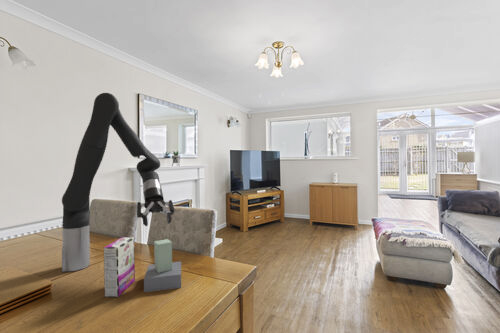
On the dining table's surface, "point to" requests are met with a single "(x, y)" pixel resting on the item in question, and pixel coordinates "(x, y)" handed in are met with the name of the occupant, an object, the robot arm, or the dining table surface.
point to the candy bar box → (119, 266)
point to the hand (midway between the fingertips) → (158, 223)
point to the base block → (162, 278)
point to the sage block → (163, 255)
